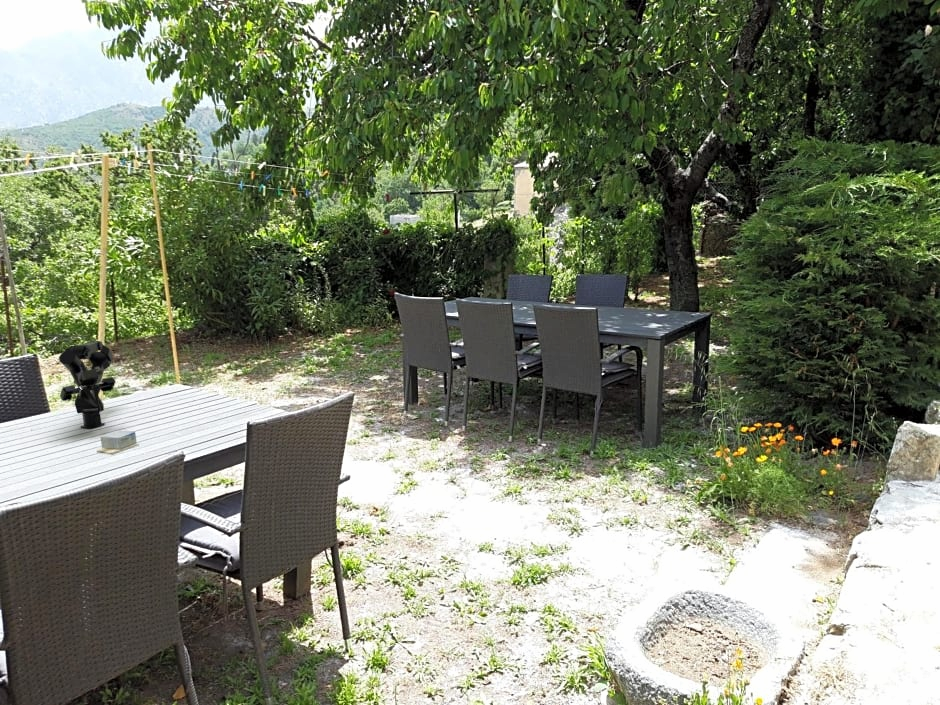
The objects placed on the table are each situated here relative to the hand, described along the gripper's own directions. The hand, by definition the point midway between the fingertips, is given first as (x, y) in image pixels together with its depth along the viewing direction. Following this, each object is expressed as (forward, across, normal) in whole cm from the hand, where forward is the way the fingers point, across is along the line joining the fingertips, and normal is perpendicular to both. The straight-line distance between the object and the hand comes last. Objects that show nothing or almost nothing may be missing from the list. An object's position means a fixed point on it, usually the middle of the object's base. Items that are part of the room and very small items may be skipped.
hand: (97, 406), depth 263 cm
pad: (+23, -4, -6) cm, 24 cm away
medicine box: (+17, -4, -4) cm, 18 cm away
